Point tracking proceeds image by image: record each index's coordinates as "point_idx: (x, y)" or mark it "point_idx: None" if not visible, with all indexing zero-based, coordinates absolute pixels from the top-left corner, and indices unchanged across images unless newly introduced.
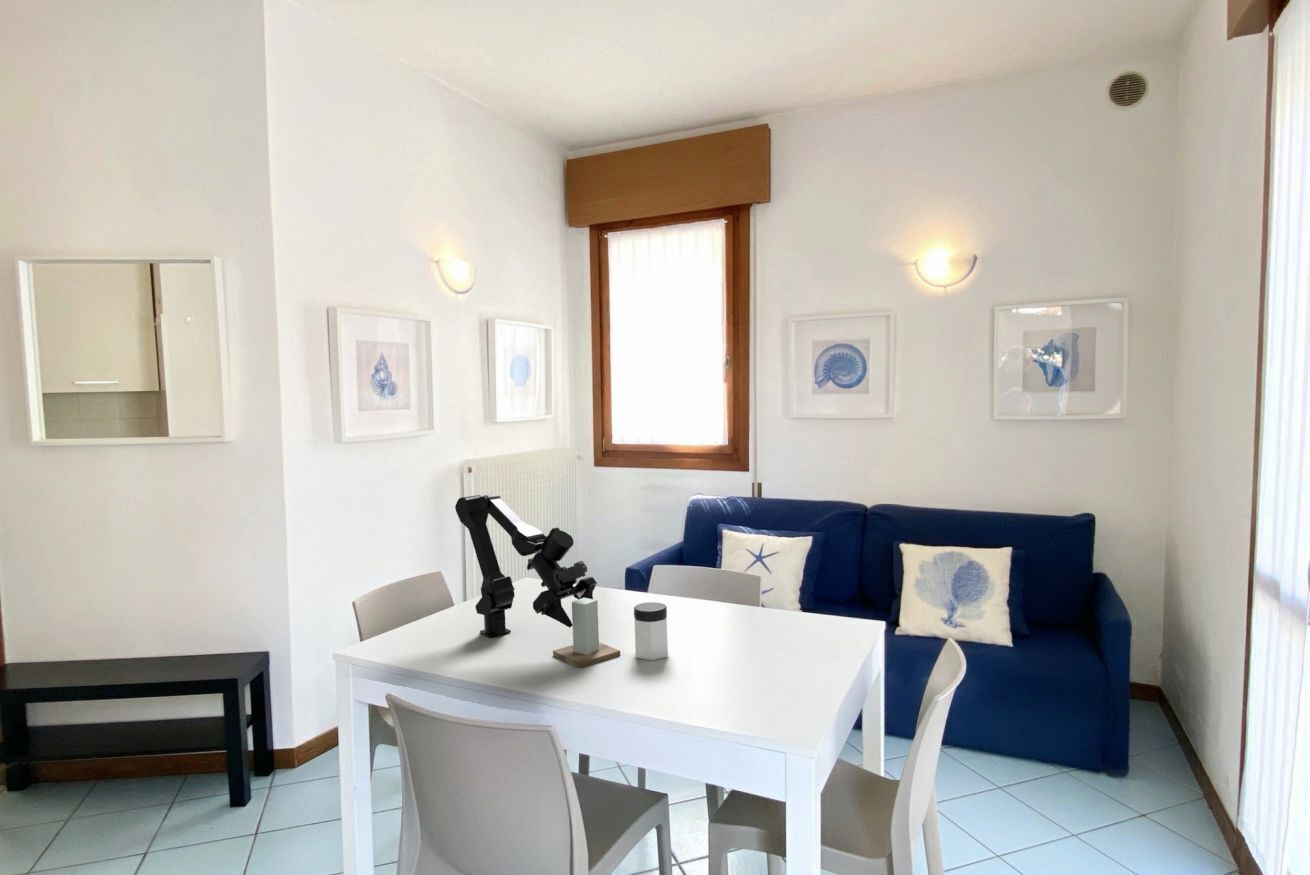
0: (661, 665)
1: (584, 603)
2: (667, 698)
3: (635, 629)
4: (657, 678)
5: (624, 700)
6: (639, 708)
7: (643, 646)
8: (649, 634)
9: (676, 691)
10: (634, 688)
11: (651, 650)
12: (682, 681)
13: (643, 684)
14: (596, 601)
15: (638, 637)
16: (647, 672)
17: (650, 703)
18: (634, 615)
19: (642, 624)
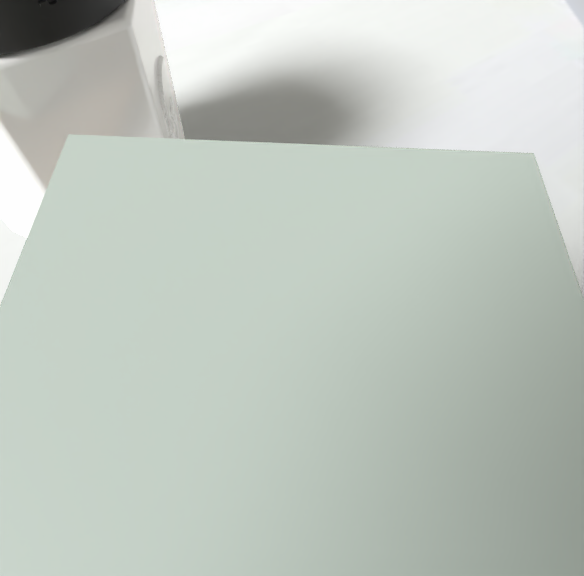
0: (219, 109)
1: (494, 210)
2: (448, 3)
3: (150, 85)
4: (341, 71)
5: (555, 69)
6: (556, 24)
7: (178, 133)
8: (161, 37)
9: (392, 4)
10: (463, 87)
11: (179, 114)
12: (316, 16)
13: (415, 81)
14: (112, 158)
15: (163, 117)
16: (313, 115)
17: (509, 18)
18: (71, 6)
19: (143, 3)
